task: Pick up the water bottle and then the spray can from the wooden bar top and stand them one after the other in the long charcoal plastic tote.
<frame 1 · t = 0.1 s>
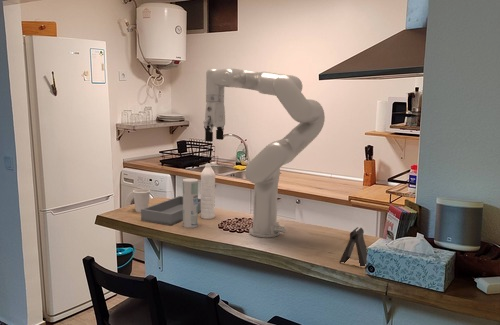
hand: (214, 140, 184), 37 cm above the breakfast bar, tool pointing down, fingers open, 9 cm apart
phone stand: (354, 263, 150), on the breakfast bar
tote: (175, 214, 204), on the breakfast bar
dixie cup: (141, 211, 209), on the breakfast bar
spray can: (190, 226, 188), on the breakfast bar
water bottle: (209, 217, 202), on the breakfast bar
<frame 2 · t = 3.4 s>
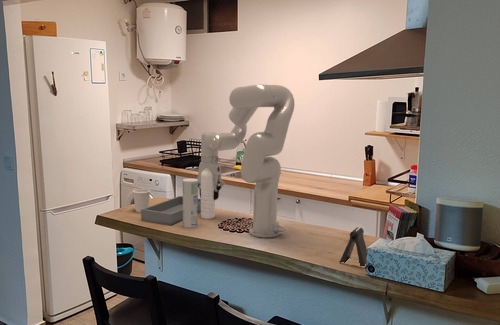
hand: (209, 198, 201), 9 cm above the breakfast bar, tool pointing down, fingers closed on water bottle, 6 cm apart
water bottle: (209, 217, 202), on the breakfast bar, touching gripper
everything else where it was.
when the fingers open (11 cm above the breakfast bar, at t = 10.0 s): water bottle drops 2 cm, resting on tote.
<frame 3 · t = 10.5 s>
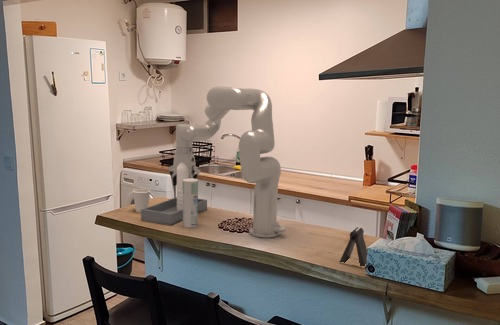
hand: (184, 186, 208), 12 cm above the breakfast bar, tool pointing down, fingers open, 9 cm apart
water bottle: (185, 209, 210), point 1 cm above the breakfast bar, touching tote
everything else where it was.
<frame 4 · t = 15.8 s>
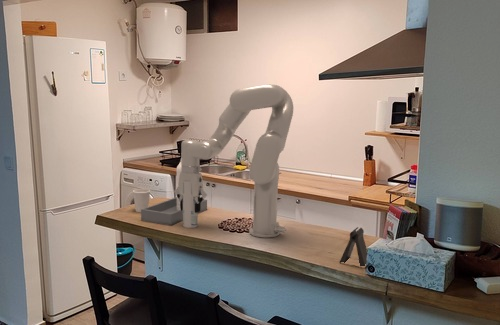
hand: (190, 210, 187), 7 cm above the breakfast bar, tool pointing down, fingers closed on spray can, 6 cm apart
spray can: (190, 226, 188), on the breakfast bar, touching gripper
everything else where it was.
when the fingers open (9 cm above the breakfast bar, at t = 23.2 s): spray can drops 2 cm, resting on tote.
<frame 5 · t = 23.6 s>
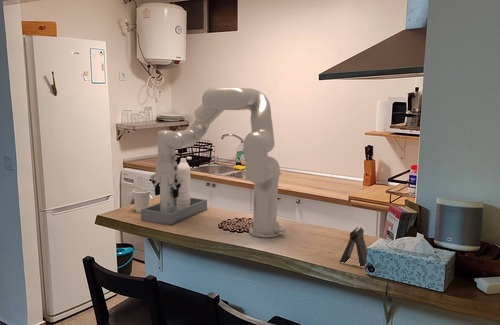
hand: (166, 196, 196), 10 cm above the breakfast bar, tool pointing down, fingers open, 9 cm apart
spray can: (167, 216, 197), point 1 cm above the breakfast bar, touching tote
everything else where it was.
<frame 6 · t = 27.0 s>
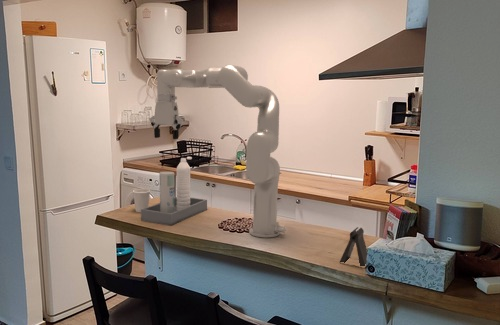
hand: (166, 138, 192), 36 cm above the breakfast bar, tool pointing down, fingers open, 9 cm apart
nothing on the breakfast bar moved.
at the end: water bottle inside the target area on the tote (6.9 cm from its centre), point 0.8 cm above the tote's base; spray can inside the target area on the tote (7.0 cm from its centre), point 0.8 cm above the tote's base; water bottle tilted 0° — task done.
